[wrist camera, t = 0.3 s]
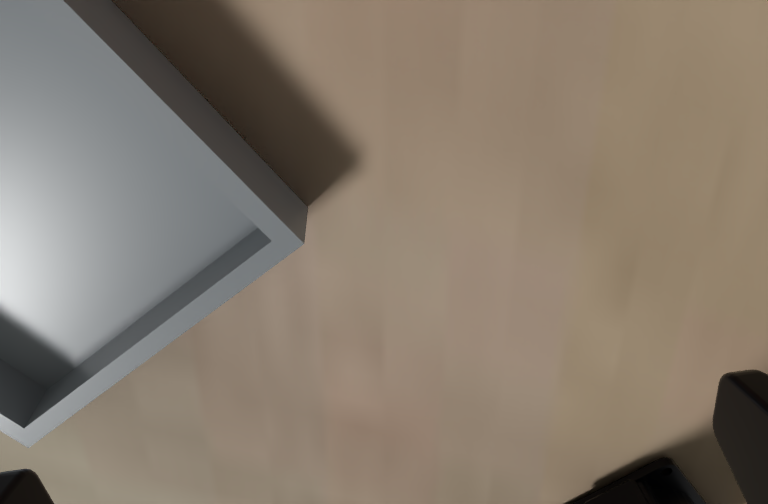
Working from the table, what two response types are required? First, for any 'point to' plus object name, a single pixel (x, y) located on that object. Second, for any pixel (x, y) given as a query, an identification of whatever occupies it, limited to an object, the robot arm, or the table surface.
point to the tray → (113, 208)
